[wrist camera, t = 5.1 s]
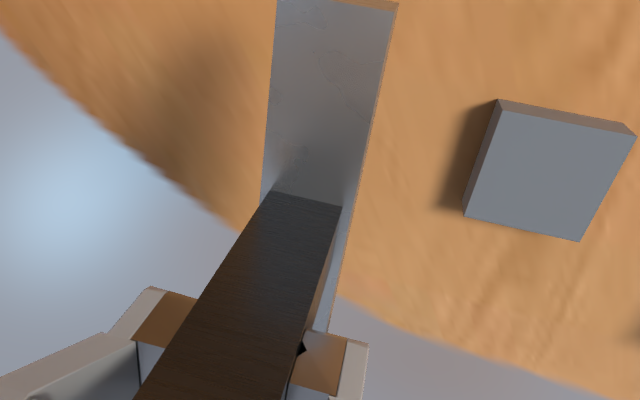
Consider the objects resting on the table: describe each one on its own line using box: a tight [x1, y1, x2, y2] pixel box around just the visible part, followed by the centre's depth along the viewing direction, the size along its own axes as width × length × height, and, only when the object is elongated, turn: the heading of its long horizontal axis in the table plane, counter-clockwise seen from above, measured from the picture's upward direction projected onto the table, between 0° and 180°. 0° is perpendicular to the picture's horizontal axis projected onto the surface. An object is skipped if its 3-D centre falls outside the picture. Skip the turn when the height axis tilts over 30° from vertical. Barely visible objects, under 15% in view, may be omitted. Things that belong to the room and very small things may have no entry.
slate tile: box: [462, 99, 638, 242], centre depth 27 cm, size 7×7×2 cm
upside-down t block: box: [132, 0, 399, 400], centre depth 12 cm, size 14×3×12 cm, turn 172°
